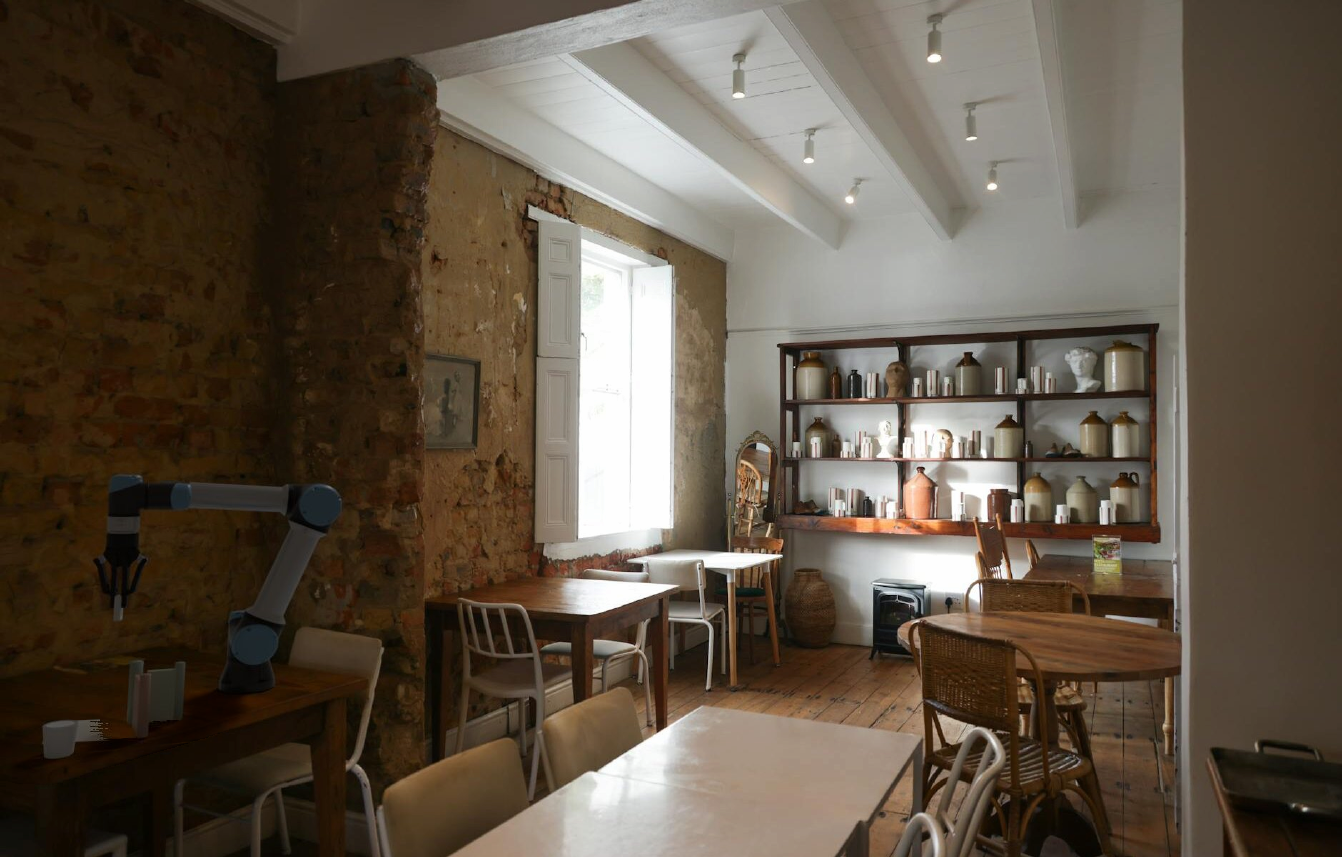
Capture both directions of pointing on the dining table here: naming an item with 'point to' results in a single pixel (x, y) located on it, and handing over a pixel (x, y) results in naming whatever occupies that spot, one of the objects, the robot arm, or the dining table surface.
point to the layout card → (88, 731)
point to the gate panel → (141, 704)
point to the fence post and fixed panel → (160, 692)
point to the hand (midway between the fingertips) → (117, 620)
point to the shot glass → (59, 738)
